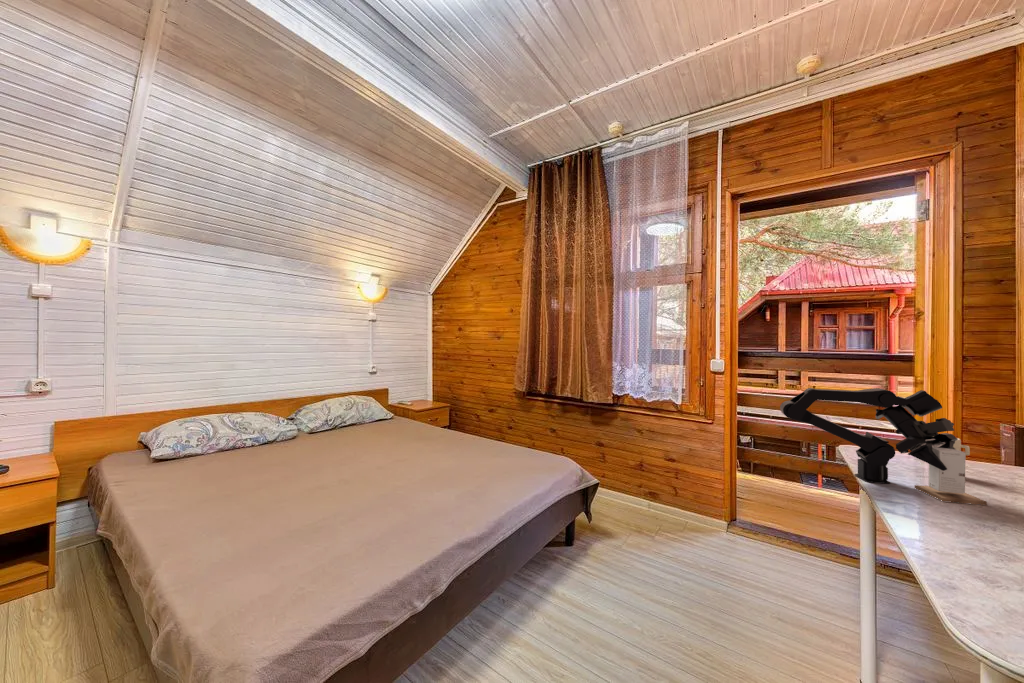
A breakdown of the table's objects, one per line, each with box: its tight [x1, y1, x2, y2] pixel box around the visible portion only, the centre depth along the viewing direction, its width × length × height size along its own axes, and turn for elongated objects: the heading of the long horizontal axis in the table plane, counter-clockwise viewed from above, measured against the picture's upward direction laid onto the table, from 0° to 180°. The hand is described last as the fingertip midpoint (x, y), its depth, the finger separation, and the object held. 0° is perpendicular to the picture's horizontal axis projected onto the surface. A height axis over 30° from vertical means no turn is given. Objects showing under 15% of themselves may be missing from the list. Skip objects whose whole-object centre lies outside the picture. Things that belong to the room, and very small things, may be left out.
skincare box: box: [928, 447, 967, 494], centre depth 110 cm, size 6×4×12 cm
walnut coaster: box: [914, 484, 988, 506], centre depth 111 cm, size 10×10×1 cm
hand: (953, 468), depth 109 cm, fingers closed on skincare box, 7 cm apart
